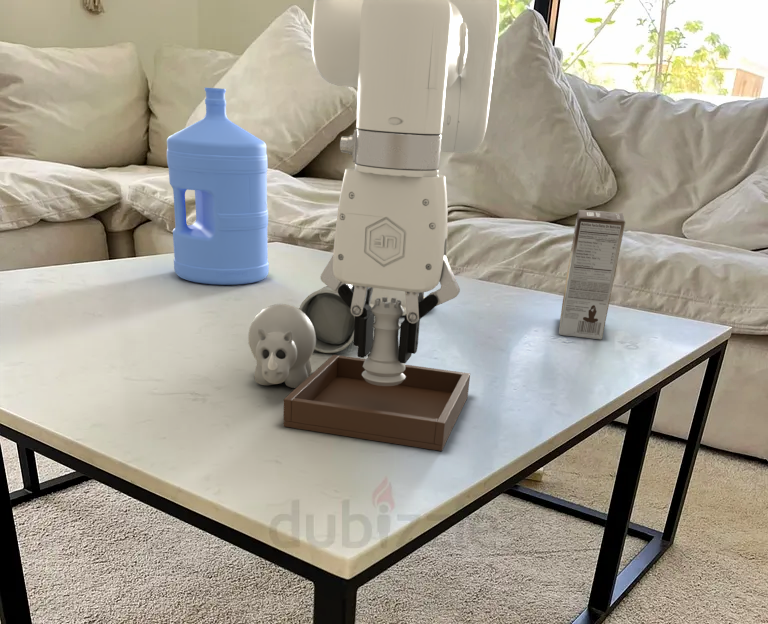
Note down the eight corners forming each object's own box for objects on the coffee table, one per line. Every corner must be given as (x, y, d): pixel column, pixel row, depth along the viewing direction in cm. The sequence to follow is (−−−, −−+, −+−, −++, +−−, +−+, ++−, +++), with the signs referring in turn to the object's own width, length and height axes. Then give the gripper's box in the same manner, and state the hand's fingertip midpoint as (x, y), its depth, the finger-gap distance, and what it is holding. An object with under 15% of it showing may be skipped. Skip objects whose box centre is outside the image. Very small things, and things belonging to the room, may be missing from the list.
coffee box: (558, 320, 119) (577, 208, 112) (601, 324, 118) (622, 212, 111) (558, 335, 111) (578, 216, 104) (603, 340, 110) (627, 220, 103)
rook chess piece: (360, 372, 81) (363, 293, 77) (402, 373, 81) (408, 295, 77) (362, 386, 77) (366, 304, 73) (407, 388, 77) (414, 306, 73)
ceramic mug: (367, 339, 103) (369, 279, 100) (356, 356, 96) (358, 293, 93) (289, 332, 105) (288, 273, 101) (272, 349, 97) (271, 286, 94)
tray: (283, 426, 75) (283, 399, 74) (332, 378, 89) (332, 354, 87) (441, 451, 72) (444, 423, 71) (467, 397, 86) (470, 373, 84)
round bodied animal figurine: (234, 406, 79) (231, 322, 75) (256, 369, 90) (255, 294, 86) (304, 411, 79) (305, 328, 75) (318, 374, 90) (320, 299, 86)
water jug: (254, 265, 141) (251, 90, 128) (280, 284, 129) (279, 92, 116) (166, 267, 135) (154, 83, 122) (184, 287, 123) (172, 85, 110)
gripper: (294, 149, 67) (293, 356, 76) (484, 165, 64) (460, 379, 73) (322, 146, 74) (317, 337, 82) (495, 160, 71) (472, 357, 79)
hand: (385, 354), depth 78 cm, fingers closed on rook chess piece, 3 cm apart
